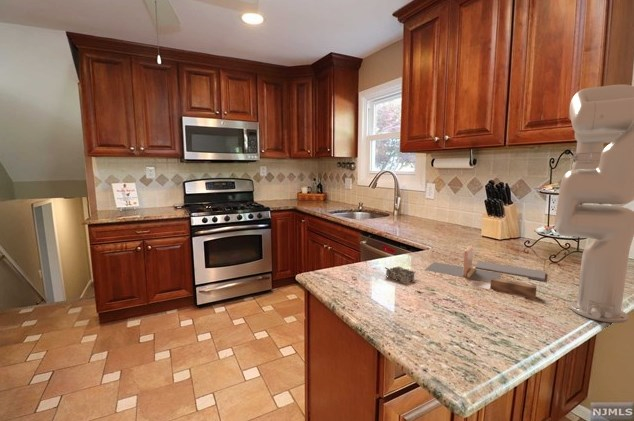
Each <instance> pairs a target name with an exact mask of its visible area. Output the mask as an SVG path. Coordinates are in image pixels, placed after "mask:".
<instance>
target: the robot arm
mask: <svg viewBox="0 0 634 421" xmlns="http://www.w3.org/2000/svg"><path fill="white" fill-rule="evenodd" d="M569 117H570V121H571V126H572V129H573V131H574V139H575V141H576V153H575V154H574V155H571V156H570V159H571V160H574V161H573V163H572V165H571V166H570V167H571V168H570V169H569V170H568V171H566V173H564V175H563V176H562V179H561V180H558V181H557V185H558V186H559V192H558V196H557V197H558V198H557V205H556V210H555V211H556V212H555V218H554V227H555V231H556V232H557V233H558V234H559V235H561V236H566V237H571V238H572V237H574V238H583V239H593V240H594V241H591V243H589V244H588V245H587V246H586V247H585V248H584V249H583V252H582V256H581V263H580V264H581V265H580V273H579V283H578V291H577V292H578V293H577V299H576V300H573V301H571V302H570V303H569V308H570V309H571V310H572V311H573V312H574V313H576V314H578V315H580V316H583V317H585V318H588V319H591V320H595V321H599V322H603V323H610V324H611V323H612V324H622V323H623V324H624V323H625V322H626V323H627V322H628V320H629V314H627V313H626V312H625V311H624V310H622V306H623V299H624V293H625V286H626V284H625V283H626V277H627V271H628V270H627V268H628V263H629V256H630V251H631V246H632V242H633V239H634V210H632V209H630V208H628V207H625V206H619V205H624V204H629V203H631V202H633V201H634V86H633V85H630V84H624V83H623V84H612V85H611V84H610V85H603V86H602V85H601V86H595V87H588V88H587V87H585V88H582V89H580V90H579V91H577V92H576V93H575V94H574V96H573V97H572V98H571V101H570V103H569ZM604 144H608V145H606V146H605V147H604ZM593 204H594V205H593ZM616 205H617V206H616Z"/></svg>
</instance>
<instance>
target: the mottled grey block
mask: <svg viewBox="0 0 634 421" xmlns="http://www.w3.org/2000/svg"><path fill="white" fill-rule="evenodd" d="M384 269H385V270H386V272H385V275H387V276H388V277H393V278H392V279H399V280H398V281H400V280H401V281H400V283H402V282H410V281H409V280H415V274H416V273H417V271H416V270H415V271H414V270H410V269H407V268H403V267H402V266H395V267H390V268H388V267H386V266H384ZM395 273H399V274H395ZM387 276H386V277H387Z"/></svg>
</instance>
